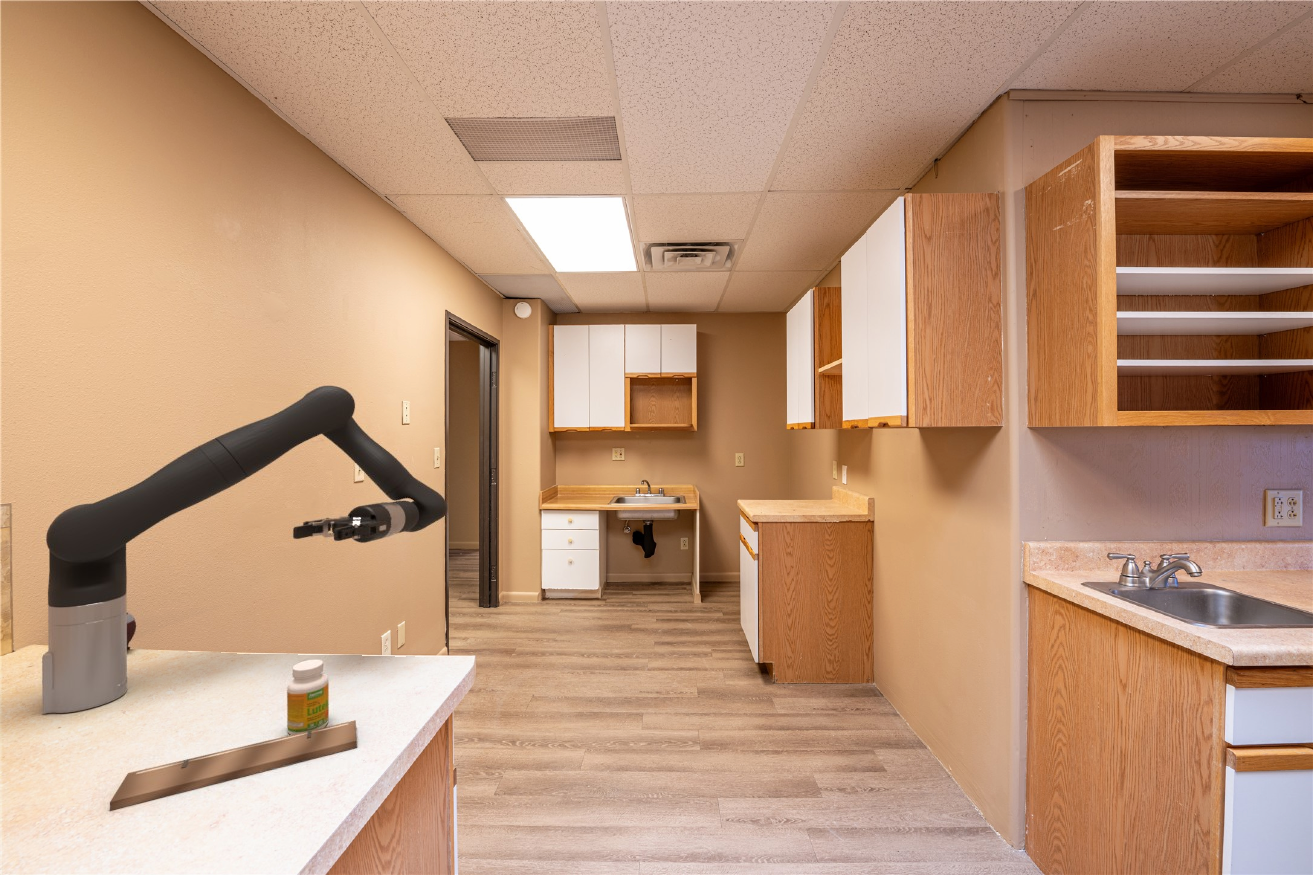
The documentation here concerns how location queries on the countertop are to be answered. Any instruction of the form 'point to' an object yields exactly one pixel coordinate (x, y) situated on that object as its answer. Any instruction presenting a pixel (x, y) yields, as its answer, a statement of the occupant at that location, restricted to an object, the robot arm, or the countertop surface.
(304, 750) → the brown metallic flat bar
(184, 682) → the countertop surface
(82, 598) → the robot arm
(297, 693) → the supplement bottle
